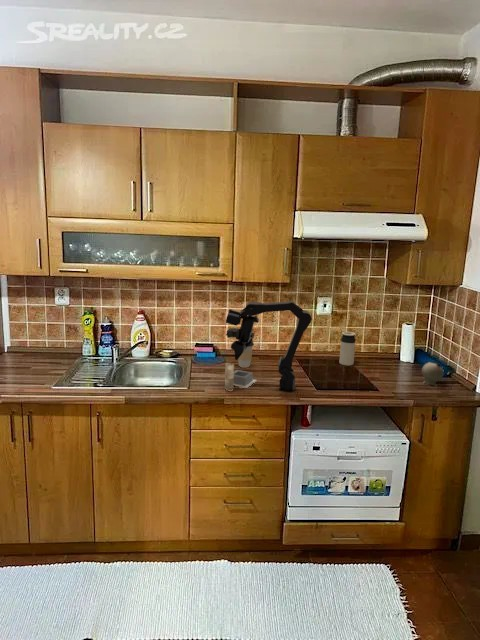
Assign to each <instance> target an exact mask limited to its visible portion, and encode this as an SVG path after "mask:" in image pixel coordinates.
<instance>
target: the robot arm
mask: <svg viewBox="0 0 480 640" xmlns="http://www.w3.org/2000/svg"><path fill="white" fill-rule="evenodd" d="M286 311H290V312H291V313H292V314H293V315H294V316H295V317H296V318H297V320H296V327H295V329H294V331H293V332H294V333H293V334H292V337H291V339H290V341H289V345H288V347H287V349H286V351H285V354H284V355H283V356H281V355H280V357H279V360H278V362H277V368H278V372H279V374H280V375H281V376H280V379H279V388H278V390H279V391H285V392H287V393H288V392H289V393H292V392H293V391H294V390H295V389H296V388H297V387H296V374H295V371H294V368H293V361H294V357H295V355H296V352H297V350H298V347H299V345H300V342H301V340H302V337H303V335H304V332H305V331H306V330H307V329H308V327H310V324H311V323H312V316H311V313H310V312H309V310H304V309H303V308H301V307H300V306H299V305H298V304H296V303H295V302H294V300H293V301H292V300H290V301H279V302H260V301H259V302H258V301H248V302H247V303H246V305H245V306H244V308H243V309H241V310H240V311H237V310H234V309H232V308H230V309H228V313H227V315H226V319H225V324H229V325H233V326H238V325H240V328H236V327H233V328H232V327H230V328H228V329H227V331H226V334H225V336H226V337H227V338H228V339H229V338H235V339H236V340H234V341H232V343H231V345H230V349H232V350H233V351H234V360H235V361H237V360H238V358H239V357H240V356H241V355H242V353H243V352H244V351H245V349H246V348H247V347H248V345H249V344H250V343H251V341H253V339H255V333H254V325H255V323H259V321H260V318H259V317H258V315H261V314H263V313H269V312H270V313H271V312H274V313H275V312H286ZM238 340H239V341H240V342H239V341H238Z"/></svg>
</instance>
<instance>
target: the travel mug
mask: <svg viewBox="0 0 480 640" xmlns="http://www.w3.org/2000/svg"><path fill="white" fill-rule="evenodd" d="M341 335H342V336H341V338H340V348H339V361H338V362H339V364H340V365H341V366H353V365H354V363H355V362H354V361H355V348H356V340H357V339H356V335H357V334H356V333H355V332H353V331H342V332H341Z"/></svg>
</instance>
